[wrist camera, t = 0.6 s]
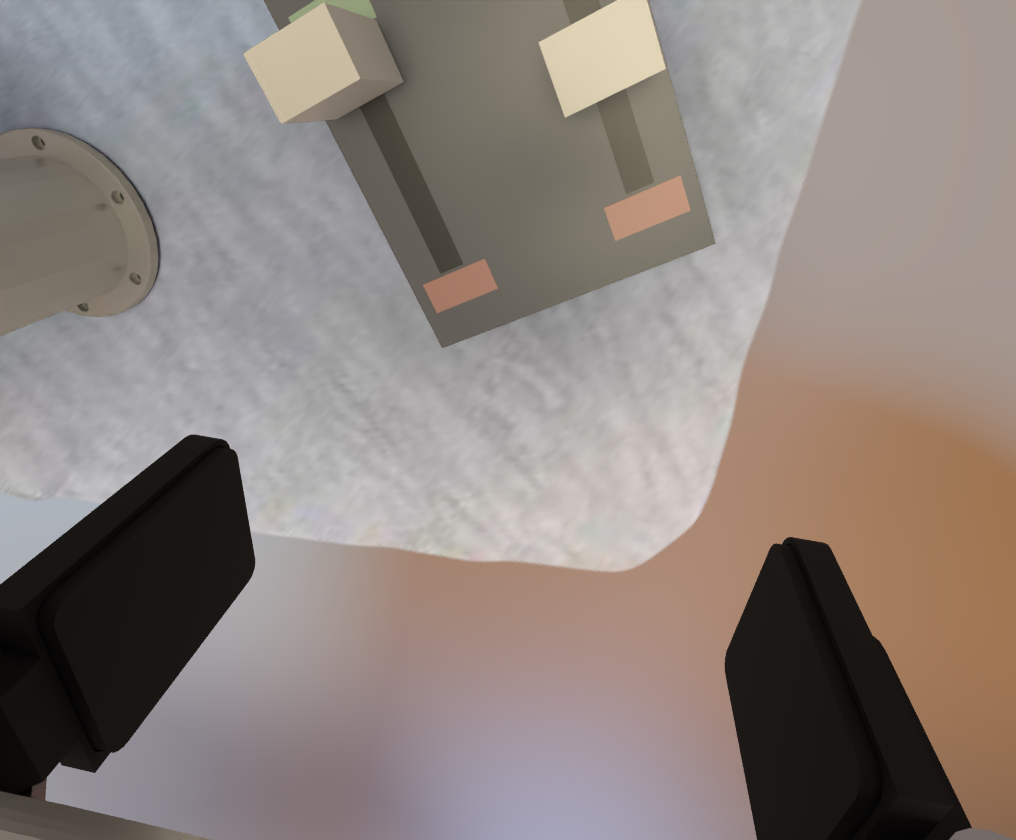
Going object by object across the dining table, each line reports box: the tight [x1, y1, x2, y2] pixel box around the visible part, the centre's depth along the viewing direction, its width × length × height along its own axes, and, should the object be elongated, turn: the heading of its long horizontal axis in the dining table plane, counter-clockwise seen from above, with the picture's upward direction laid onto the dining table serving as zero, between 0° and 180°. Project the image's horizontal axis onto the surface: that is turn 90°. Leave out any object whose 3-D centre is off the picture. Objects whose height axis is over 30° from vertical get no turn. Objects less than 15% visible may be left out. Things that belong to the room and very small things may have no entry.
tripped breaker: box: [538, 0, 666, 118], centre depth 27 cm, size 4×3×7 cm
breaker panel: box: [264, 0, 716, 348], centre depth 33 cm, size 18×22×3 cm
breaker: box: [243, 2, 404, 124], centre depth 28 cm, size 4×3×7 cm
